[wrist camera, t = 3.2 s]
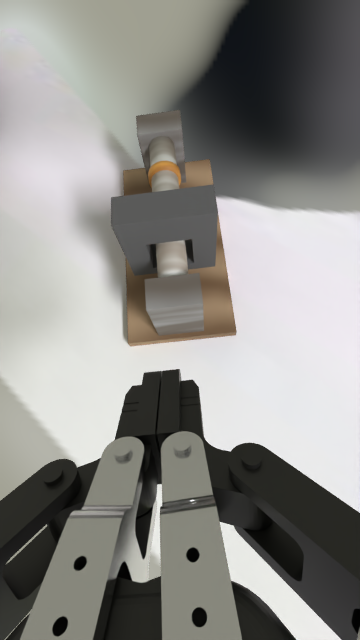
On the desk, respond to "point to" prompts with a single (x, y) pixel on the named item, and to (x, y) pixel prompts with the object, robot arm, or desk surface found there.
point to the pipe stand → (174, 250)
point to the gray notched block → (166, 225)
